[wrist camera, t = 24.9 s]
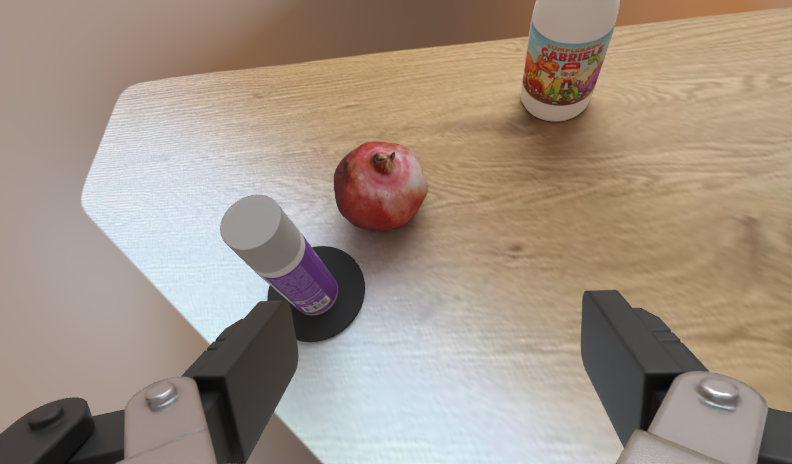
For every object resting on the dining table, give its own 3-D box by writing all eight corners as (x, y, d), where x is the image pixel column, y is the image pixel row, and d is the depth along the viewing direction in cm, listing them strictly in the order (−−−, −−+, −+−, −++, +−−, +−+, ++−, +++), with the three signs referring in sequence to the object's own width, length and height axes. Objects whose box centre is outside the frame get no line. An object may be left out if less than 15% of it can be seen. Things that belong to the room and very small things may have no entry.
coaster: (328, 230, 47) (327, 228, 47) (385, 295, 43) (384, 294, 43) (251, 289, 45) (249, 287, 45) (302, 364, 41) (301, 363, 41)
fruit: (328, 207, 49) (297, 151, 40) (393, 157, 51) (377, 94, 42) (379, 262, 45) (357, 214, 36) (447, 205, 47) (442, 147, 38)
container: (344, 275, 44) (291, 197, 31) (330, 319, 42) (268, 256, 29) (301, 267, 45) (233, 189, 32) (286, 310, 43) (207, 246, 30)
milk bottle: (512, 82, 53) (533, -103, 36) (575, 67, 53) (628, -127, 35) (531, 130, 50) (566, -50, 32) (599, 115, 49) (672, -76, 32)
